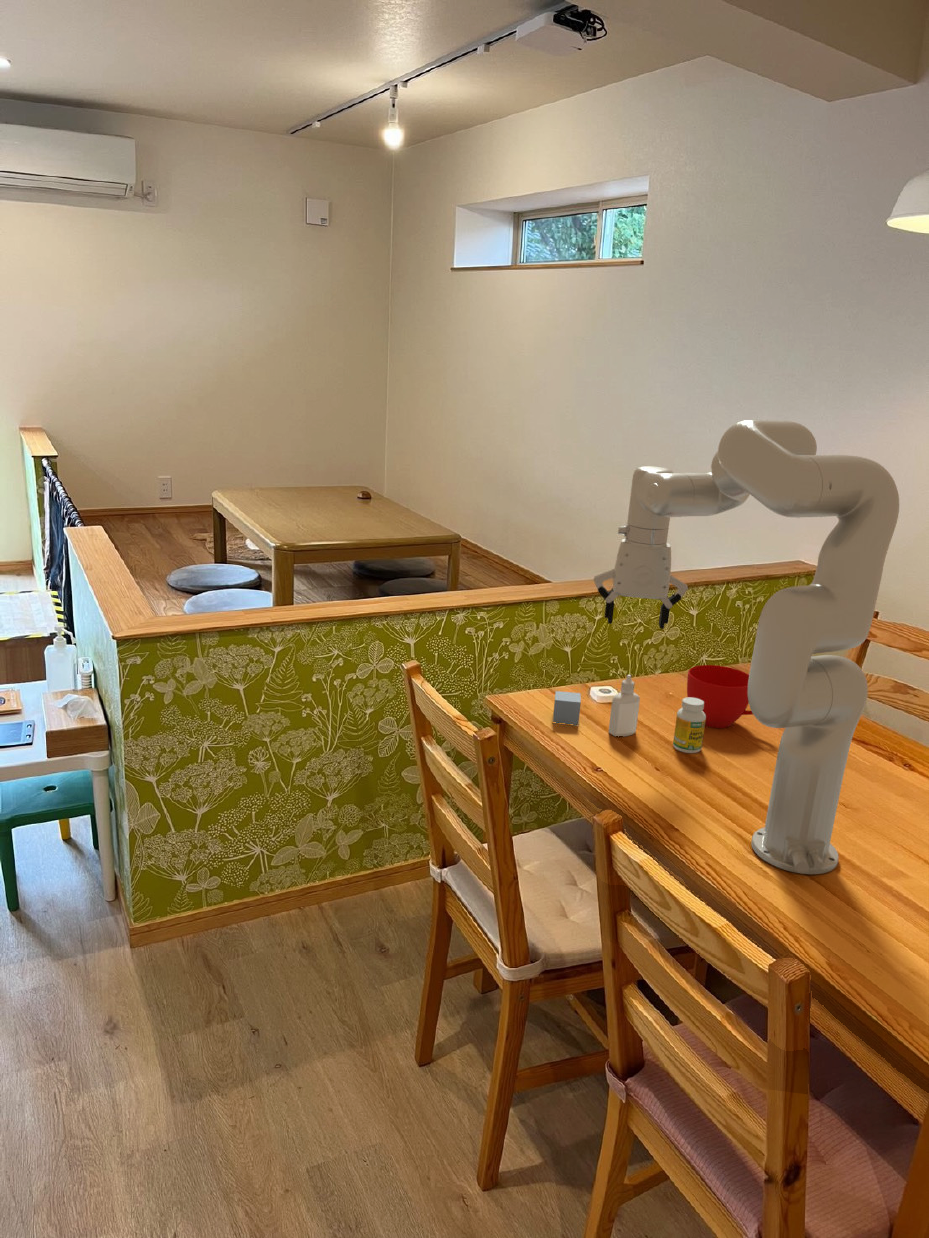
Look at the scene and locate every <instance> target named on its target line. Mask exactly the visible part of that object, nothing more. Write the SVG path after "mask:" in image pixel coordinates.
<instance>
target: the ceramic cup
mask: <svg viewBox="0 0 929 1238" xmlns="http://www.w3.org/2000/svg"><path fill="white" fill-rule="evenodd" d="M748 680H749V673H747V672H745V671H742V670H739V669H737V668H733V667H729V666H722V665H715V664H703V665H701V664H700V665H696V666H693V667H691V668H690V669H688V672H687V682H686V695H687V696H686V698H687V697H692V698H697V699H700V700H702V701H703V702H704V709H703V710H702V711H703V712H704V713H705V715H706V721H705V726H706V727H711V728H717V729H724V728H728V727H730V726H731V725H732V724H734V723H736V721H738V720H739V719H740V718H741V717H742V716H746V715H747V716H751V715H753V713H752V711H751V710H746V709H747V708H748V705H749V701H748Z"/></svg>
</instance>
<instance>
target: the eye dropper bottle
mask: <svg viewBox="0 0 929 1238" xmlns="http://www.w3.org/2000/svg"><path fill="white" fill-rule="evenodd" d="M635 683H636V682H634V681H633V680H632V675H631V674H627V675H626V677H625V679H623V680H622V681H621V687H620V692H618V693H616V694H615V695H614V696H613V697H612V701H611V708H610V715H609V725H608V733H609V734H610V735H612V736H613V737H616V736H618V738H619V736H623V737H629V736H632V735H634V734H635V733H636V732H637V726H638V717H639V711H640V710H639V709H640V701H641V697H640V695H638V694H637V693H636V692H635Z"/></svg>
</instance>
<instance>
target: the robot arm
mask: <svg viewBox="0 0 929 1238" xmlns="http://www.w3.org/2000/svg"><path fill="white" fill-rule="evenodd" d="M750 496H752V497H753V498H754V499H755V500H756V501H758V502H759V503H760V504H761V505H763V506H764V507H766V508H767V509H768V510H769V511H772V512H773V513H775V514H777V515H780V516H783V517H786V518H797V519H798V518H799V519H800V518H823V517H824V518H825V517H827V518H828V517H836V518H837V519H838V522H837V524H836V525H835V526H834V527H833V529H831V531H830V532H829V534H828V535H827V537H826V539H825V540H824V542H823V544H822V546H821V548H820V551H819V554H818V557H817V564H816V569H815V573H814V576H813V579H812V582H811V583H810V584H809V585H797V586H789V587H785V588H782V589H780V590H778V591H776V592H775V593H773V594H772V595H771V596H770V598H768V600H767V601H766V603H765V604H764V606H763V608H762V610H761V613H760V616H759V619H758V623H757V627H756V628H757V629H756V634H755V641H754V645H753V652H752V657H751V662H750V670H749V673H748V674H749V680H748V701H749V704H748V705H749V708H750V711H752V713H753V714H752V715H753V716H754V718H755V719H756V720H757V721H758V722H759V723H760V724H761V725H763V726H766V727H768V728H773V729H784V730H783V733H782V735H781V737H780V742H779V746H778V752H777V754H776V756H777V757H776V762H775V767H774V773H773V777H772V778H773V779H772V783H771V791H770V794H769V795H770V796H769V800H768V806H767V811H766V818H765V824H764V827H762V828H759V829H757V830H756V831H755V832H753V834H752V837H751V843H750V844H751V848H752V849H753V851H754V853H755V854H757V856H758V857H759V858H761V860H763V861H764V862H766V863H768V864H770V865H772V866H774V867H776V868H779V869H781V870H784V871H787V872H790V873H796V874H802V875H822V874H826V873H829V872H831V871H833V870H834V869H835V868H837V866H838V862H839V857H840V856H839V853H838V850H837V849H836V847H835V846H833V844H832V843H831V839H832V834H833V829H834V823H835V818H836V815H837V810H838V809H837V808H838V804H839V799H840V793H841V789H842V784H843V781H844V780H843V779H844V775H845V770H846V767H847V766H846V765H847V761H848V756H849V752H850V747H851V744H852V740H853V736H854V734H855V731H856V728H857V726H858V723H859V721H860V718H861V717H862V714H863V712H864V709H865V707H866V704H867V700H868V689H869V687H868V680H867V678H866V674H865V672H864V671H863V670H862V668H861V667H860V666H859V665H858V664H857V663H856V662H854V661H853V660H851V659H850V658H848V657H844V656H841V655H836V654H835V655H834V654H832V655H831V654H823V653H832V652H841V651H846V650H851V649H854V648H857V647H859V646H860V645H862V644H863V643H864V642H865V640H867V638H868V635H869V634H870V630H871V627H872V622H873V619H874V614H875V611H876V610H875V609H876V604H877V600H878V596H879V590H880V586H881V582H882V576H883V573H884V572H883V571H884V565H885V561H886V557H887V554H888V551H889V547H890V546H891V545H890V544H891V541H892V538H893V536H894V533H895V531H896V530H895V529H896V527H897V523H898V519H899V513H900V495H899V491H898V487H897V485H896V482H895V480H894V478H893V476H892V475H891V473H890V472H889V471H888V470H887V469H886V468H885V467H884V465H881V464H880V463H878V462H876V461H875V460H873V459H871V458H866V457H863V456H857V455H848V454H847V455H845V454H843V455H842V454H827V455H826V454H824V455H821V454H820V455H819V454H818V455H817V441H816V437H815V436H814V434H813V433H812V431H810V429H808V428H807V426H804V425H802V424H801V423H798V422H796V421H790V420H789V421H788V420H768V419H767V420H763V419H762V420H761V419H759V420H758V419H755V420H754V419H749V420H748V419H746V420H742V421H738V422H736V423H734V424H733V425H731V426H730V427H729V428H728V429H727V430H726V431H725V432H724V433H723V434H722V436H721V437H720V441H719V444H718V449H717V451H716V453H715V454H714V455H713V457H712V460H711V465H710V472H706V473H705V472H704V473H703V472H679V473H678V472H677V473H675V472H674V471H673V470H672V469H669V468H667V467H662V466H661V467H660V466H653V465H646V466H644V465H642V466H639V467H637V468H635V470H634V472H633V475H632V480H631V488H630V498H629V507H628V515H627V522H626V524H625V525H622V526H618V531H617V533H618V534H619V535H623V536H624V537H625V538H623V539H621V541H620V544H619V548H618V551H617V556H616V559H615V564H614V568H613V569H610V570H608V571H605V572H603V573H599V574H596V575H595V576H593V582H594V584H595V586H596V589H597V592H598V594H599V595H600V596H601V597H602V598H603V600H604V601H605V606H604V607H605V610H604V618H605V619H607V624H609V625H610V624H613V617H614V610H615V601H614V600H616V598H618V596H621V597H630V598H639V599H650V600H651V599H652V600H661V602H662V604H661V605H660V610H659V619H658V626H659V629H661V630H664V629H665V624H666V625H667V624H669V619H670V609H671V608H673V606H675V605H676V604H677V603H678V602H680V601H681V600H682V598H683V597H684V596H685V594H686V593H687V591H688V590H689V587H688V585H687V584H686V583H685V582H683V581H681V580H680V579H678V578H677V577H675V576H674V575H672V574H671V570H672V546H671V544H670V543H668V537H669V529H670V528H669V527H670V519H671V518H683V517H685V518H686V517H709V516H710V517H711V516H714V515H715V516H716V515H718V514H721V513H724V512H727V511H730V510H732V509H735V508H739V507H740V506H742V505H743V504H744V503H746V501H747V500H748V498H749V497H750ZM611 579H612V588H611V589H610V590H609V591H608V590H607V589H606V587H605V586H604V584H603V583H604V582H605V581H608V580H611ZM670 584H671V585H672V586H674V587H675V588H677V590H676V592H674V593H673V594H672V595H670V596H668V594H669V591H670V590H669V589H670ZM816 654H823V655H816ZM813 655H814V656H813Z"/></svg>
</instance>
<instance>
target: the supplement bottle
mask: <svg viewBox="0 0 929 1238" xmlns="http://www.w3.org/2000/svg"><path fill="white" fill-rule="evenodd" d="M703 709H704V702H703V701H702V700H700V699H697V698H692V697H687V696H686V697H684V698H682V700H681V708H679V709H678V711H677V713H676V720H675V727H674V733H673V742H672V746H673V748H674V749H675V750H677V751H679V752H681V753H686V754H696V753H699V752H701V750H702V746H703V740H704V733H705V726H706V725H705V721H706V715H705V713H704V712H703V711H702V710H703Z"/></svg>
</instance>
